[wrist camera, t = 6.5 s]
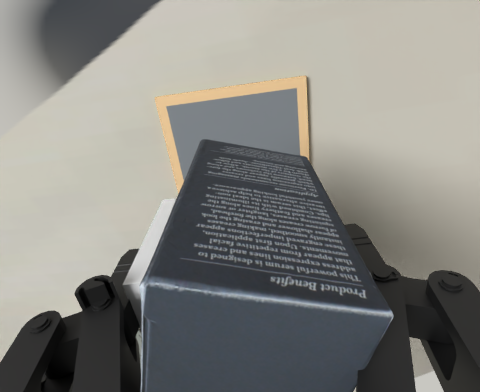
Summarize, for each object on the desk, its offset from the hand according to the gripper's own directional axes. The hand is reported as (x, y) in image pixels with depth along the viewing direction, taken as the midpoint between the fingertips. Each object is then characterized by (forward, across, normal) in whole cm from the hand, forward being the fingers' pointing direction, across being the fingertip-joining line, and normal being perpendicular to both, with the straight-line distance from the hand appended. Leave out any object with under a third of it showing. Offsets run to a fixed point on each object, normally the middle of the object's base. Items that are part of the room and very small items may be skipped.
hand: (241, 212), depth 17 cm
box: (+1, 0, 0) cm, 1 cm away
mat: (+9, 0, 0) cm, 9 cm away
